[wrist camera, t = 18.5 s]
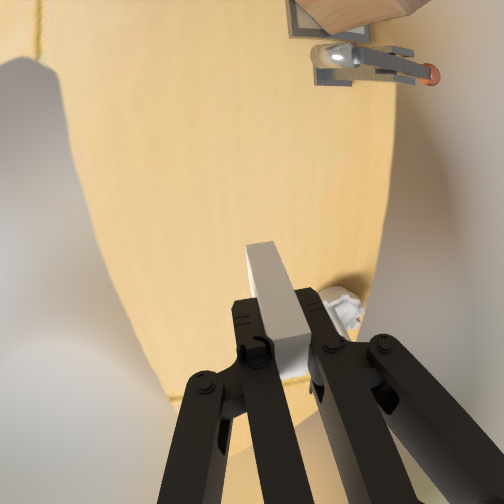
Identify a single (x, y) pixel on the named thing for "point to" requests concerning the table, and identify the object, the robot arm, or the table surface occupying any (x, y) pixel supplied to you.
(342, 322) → the flag stand
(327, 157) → the table surface
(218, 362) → the table surface
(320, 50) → the lever
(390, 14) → the wooden block
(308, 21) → the press
